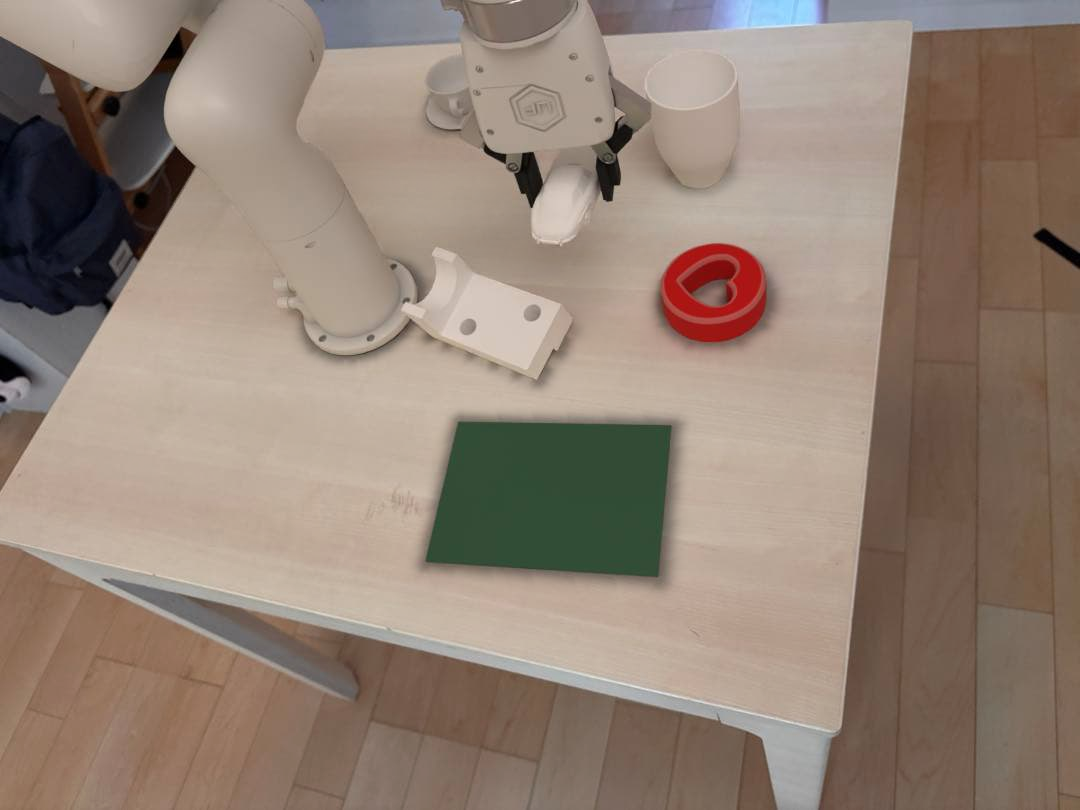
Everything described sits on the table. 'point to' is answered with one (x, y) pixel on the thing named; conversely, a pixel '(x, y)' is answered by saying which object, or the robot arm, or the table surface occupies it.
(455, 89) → the teacup
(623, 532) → the cloth mat
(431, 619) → the table surface
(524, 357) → the bracket
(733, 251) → the decorative ornament
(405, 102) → the table surface
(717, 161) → the mug
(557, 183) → the toy car
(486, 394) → the table surface
